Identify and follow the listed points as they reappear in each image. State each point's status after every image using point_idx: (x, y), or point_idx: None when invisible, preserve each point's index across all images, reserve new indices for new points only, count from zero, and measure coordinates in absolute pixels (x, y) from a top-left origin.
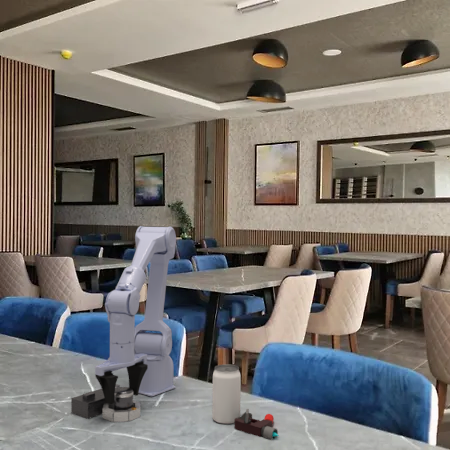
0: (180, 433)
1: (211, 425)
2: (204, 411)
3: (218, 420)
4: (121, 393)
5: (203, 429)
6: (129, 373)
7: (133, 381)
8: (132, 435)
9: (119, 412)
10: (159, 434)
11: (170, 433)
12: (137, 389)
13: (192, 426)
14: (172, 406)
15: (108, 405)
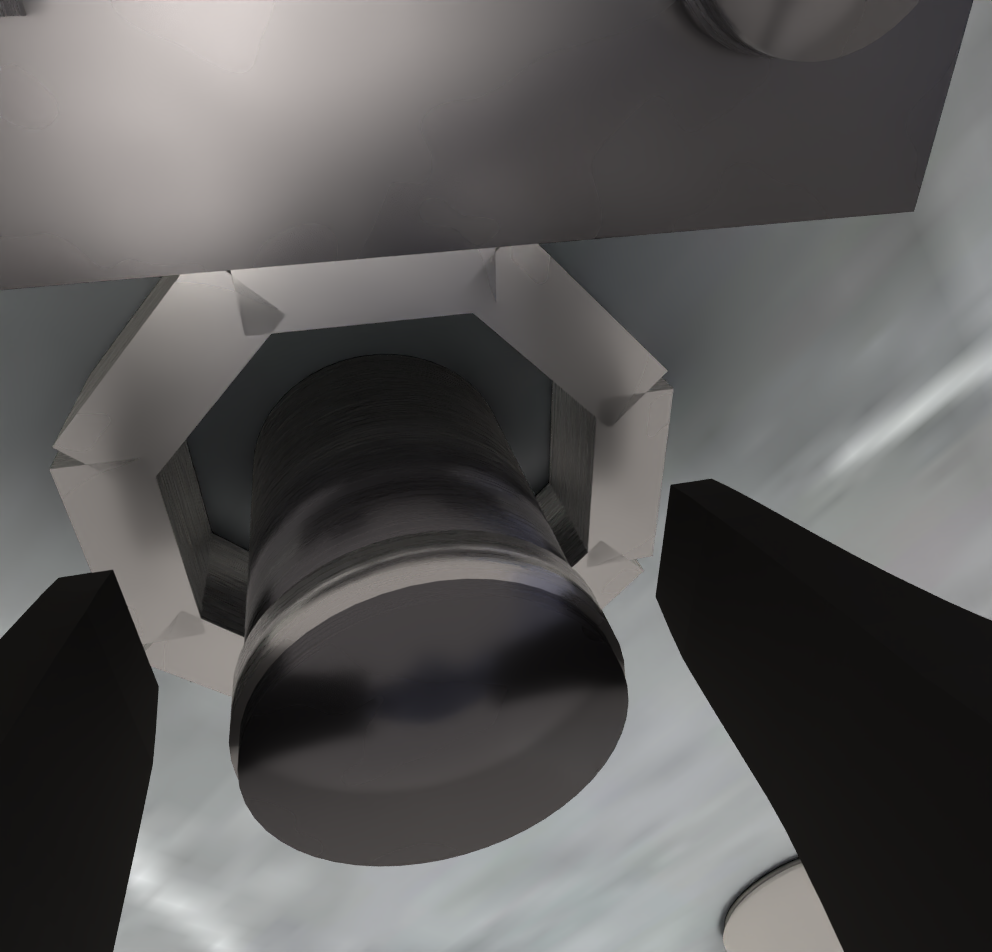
0: (454, 945)
1: (673, 924)
2: None
3: (727, 943)
4: (296, 846)
5: (595, 946)
6: (965, 766)
7: (804, 714)
8: (143, 870)
9: (211, 686)
10: (336, 919)
11: (406, 929)
12: (712, 685)
13: (594, 901)
14: None
15: (230, 381)
